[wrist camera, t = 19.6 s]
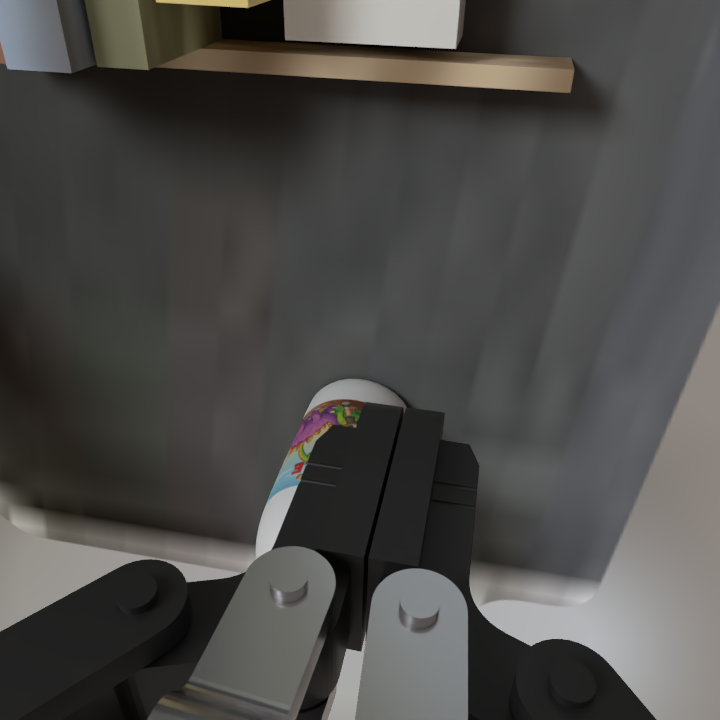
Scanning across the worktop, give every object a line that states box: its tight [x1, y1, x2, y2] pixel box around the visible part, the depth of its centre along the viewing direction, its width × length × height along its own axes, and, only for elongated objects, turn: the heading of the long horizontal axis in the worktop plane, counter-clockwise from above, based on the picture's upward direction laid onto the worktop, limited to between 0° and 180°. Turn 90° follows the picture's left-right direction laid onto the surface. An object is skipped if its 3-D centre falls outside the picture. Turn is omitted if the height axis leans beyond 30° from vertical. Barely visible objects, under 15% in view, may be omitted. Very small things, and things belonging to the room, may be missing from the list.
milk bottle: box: [256, 378, 407, 559], centre depth 40 cm, size 8×8×20 cm
